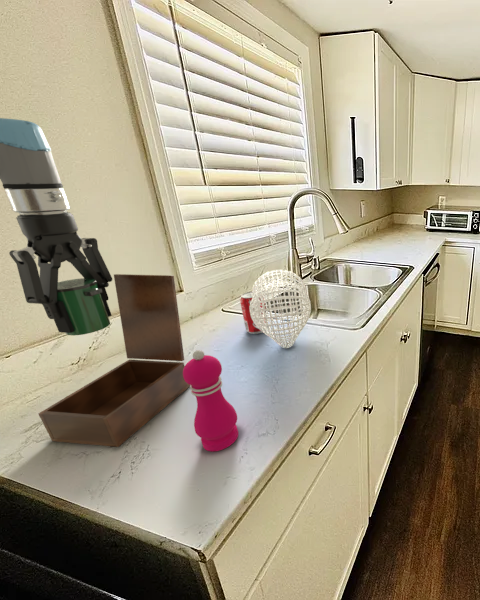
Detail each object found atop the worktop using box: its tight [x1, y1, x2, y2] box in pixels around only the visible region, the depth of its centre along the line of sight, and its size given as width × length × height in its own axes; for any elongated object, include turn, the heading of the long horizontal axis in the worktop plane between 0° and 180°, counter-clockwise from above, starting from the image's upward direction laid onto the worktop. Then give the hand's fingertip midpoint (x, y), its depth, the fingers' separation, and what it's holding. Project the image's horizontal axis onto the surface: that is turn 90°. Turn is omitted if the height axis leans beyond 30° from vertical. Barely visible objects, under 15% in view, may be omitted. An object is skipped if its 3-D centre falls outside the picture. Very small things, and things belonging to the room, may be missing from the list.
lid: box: [113, 273, 185, 362], centre depth 77 cm, size 21×15×1 cm
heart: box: [250, 269, 312, 349], centre depth 95 cm, size 28×16×22 cm, turn 21°
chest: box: [38, 359, 190, 448], centre depth 71 cm, size 20×15×7 cm
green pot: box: [57, 277, 111, 336], centre depth 68 cm, size 10×8×10 cm
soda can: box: [239, 291, 268, 335], centre depth 107 cm, size 7×7×13 cm
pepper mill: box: [183, 349, 239, 452], centre depth 61 cm, size 7×7×20 cm
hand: (86, 323), depth 69 cm, fingers closed on green pot, 7 cm apart
